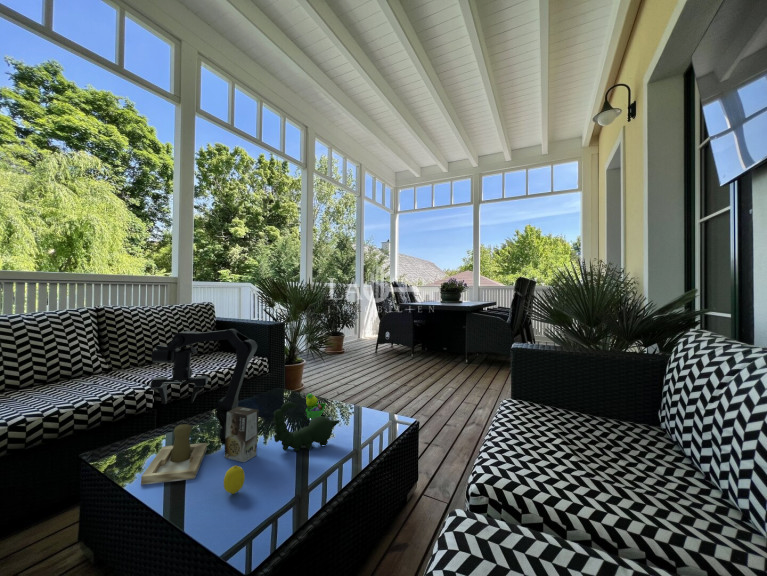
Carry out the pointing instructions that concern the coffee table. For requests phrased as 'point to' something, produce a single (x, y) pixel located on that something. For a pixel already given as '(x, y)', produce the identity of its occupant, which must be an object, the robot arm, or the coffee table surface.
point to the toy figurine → (302, 430)
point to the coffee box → (241, 434)
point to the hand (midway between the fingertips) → (178, 403)
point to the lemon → (234, 479)
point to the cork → (181, 443)
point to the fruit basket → (314, 407)
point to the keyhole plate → (174, 465)
